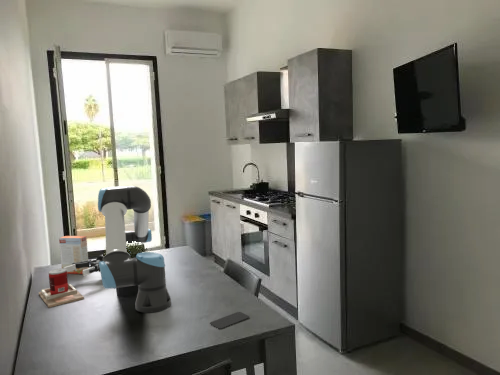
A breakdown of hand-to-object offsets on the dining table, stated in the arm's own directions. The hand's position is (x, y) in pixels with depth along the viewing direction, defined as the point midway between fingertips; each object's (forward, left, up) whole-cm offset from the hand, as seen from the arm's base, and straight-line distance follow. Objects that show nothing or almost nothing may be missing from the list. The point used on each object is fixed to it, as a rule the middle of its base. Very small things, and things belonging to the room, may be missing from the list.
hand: (73, 271), depth 198 cm
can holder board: (-7, +8, -9) cm, 14 cm away
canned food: (-4, +8, -8) cm, 12 cm away
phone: (-84, -36, -9) cm, 92 cm away
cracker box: (+29, -8, -9) cm, 32 cm away
